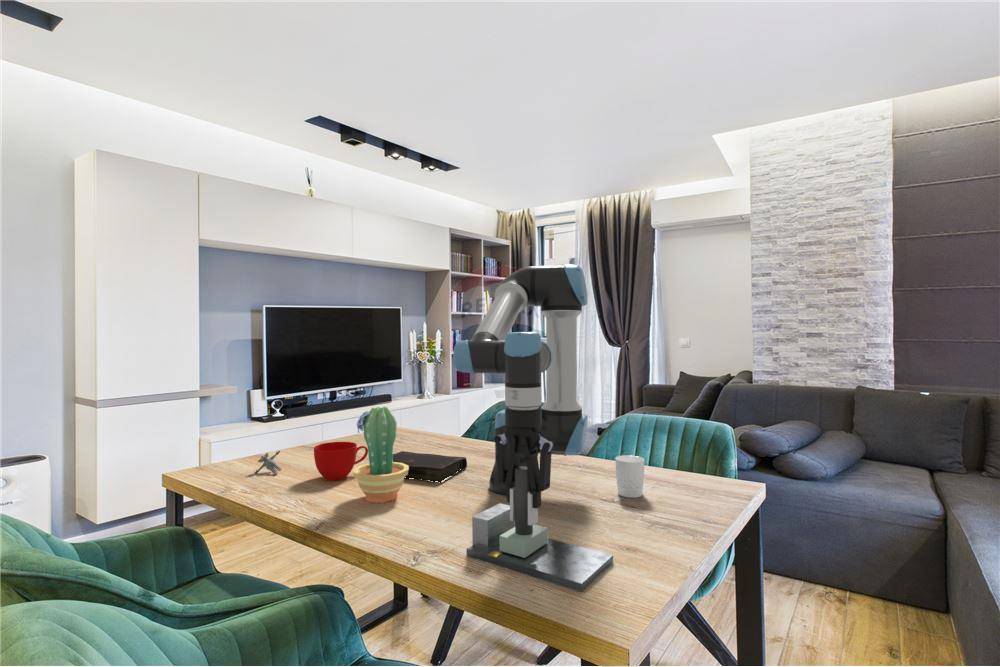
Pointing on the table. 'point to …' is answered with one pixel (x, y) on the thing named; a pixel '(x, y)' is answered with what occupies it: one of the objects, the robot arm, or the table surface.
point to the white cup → (630, 475)
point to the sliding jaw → (522, 522)
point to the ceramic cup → (336, 459)
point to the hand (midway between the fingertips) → (523, 520)
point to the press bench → (535, 553)
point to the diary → (430, 465)
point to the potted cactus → (380, 457)
